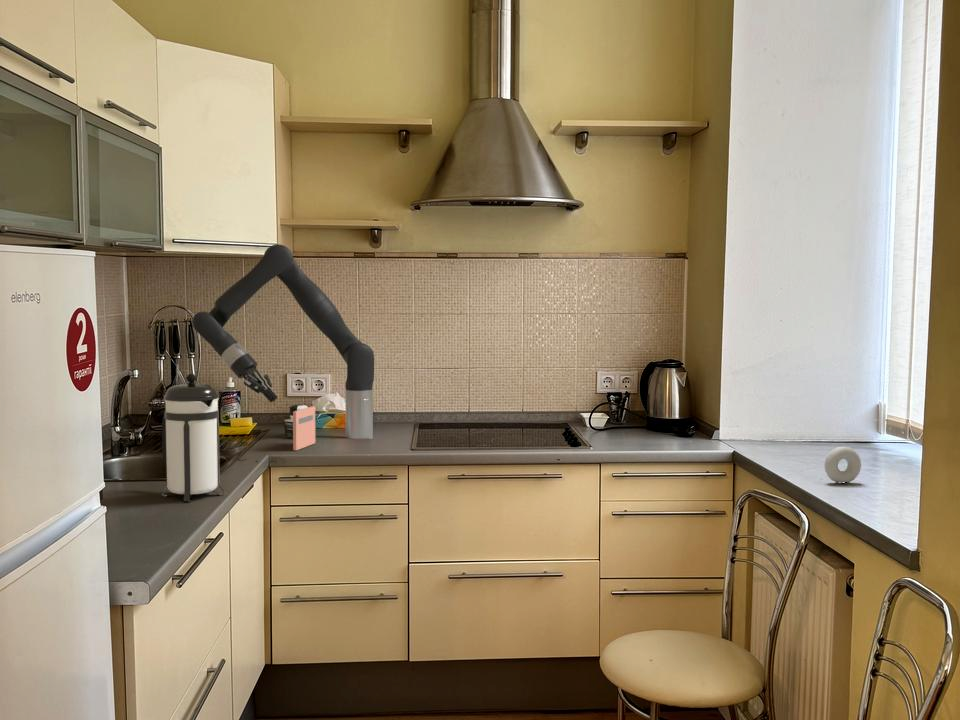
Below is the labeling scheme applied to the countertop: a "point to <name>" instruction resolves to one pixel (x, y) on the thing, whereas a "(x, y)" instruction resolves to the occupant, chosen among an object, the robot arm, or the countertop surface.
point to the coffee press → (191, 439)
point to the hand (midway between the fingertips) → (274, 399)
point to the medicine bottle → (291, 420)
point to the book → (303, 428)
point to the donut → (852, 466)
